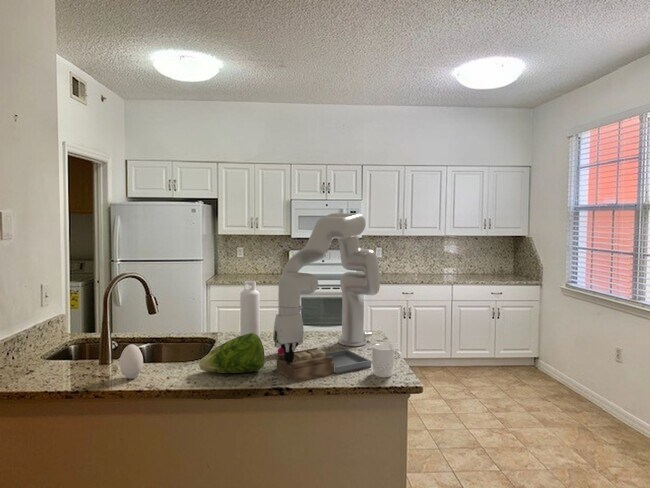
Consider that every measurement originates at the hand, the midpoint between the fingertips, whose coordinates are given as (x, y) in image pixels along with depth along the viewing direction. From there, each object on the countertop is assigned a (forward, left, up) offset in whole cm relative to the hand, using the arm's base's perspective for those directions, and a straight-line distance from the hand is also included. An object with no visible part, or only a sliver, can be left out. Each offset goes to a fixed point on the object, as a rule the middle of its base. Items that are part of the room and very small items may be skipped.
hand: (288, 361), depth 160 cm
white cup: (-30, +16, -5) cm, 34 cm away
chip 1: (-6, 0, -1) cm, 6 cm away
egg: (+48, -23, -5) cm, 54 cm away
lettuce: (+16, -12, -5) cm, 21 cm away
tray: (-23, 0, -5) cm, 23 cm away
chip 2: (-12, 0, -1) cm, 12 cm away
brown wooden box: (-7, 0, -5) cm, 8 cm away
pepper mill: (-10, -22, -5) cm, 24 cm away
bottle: (-1, -38, -5) cm, 38 cm away
